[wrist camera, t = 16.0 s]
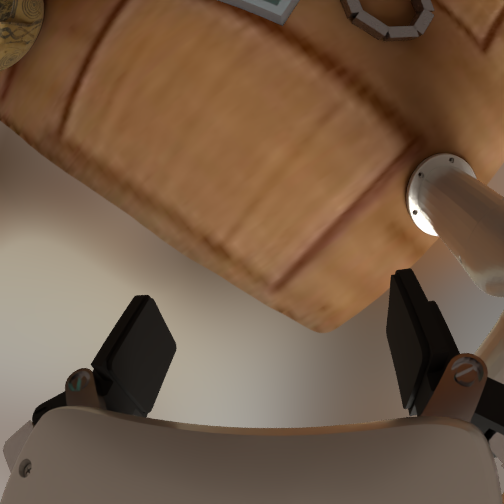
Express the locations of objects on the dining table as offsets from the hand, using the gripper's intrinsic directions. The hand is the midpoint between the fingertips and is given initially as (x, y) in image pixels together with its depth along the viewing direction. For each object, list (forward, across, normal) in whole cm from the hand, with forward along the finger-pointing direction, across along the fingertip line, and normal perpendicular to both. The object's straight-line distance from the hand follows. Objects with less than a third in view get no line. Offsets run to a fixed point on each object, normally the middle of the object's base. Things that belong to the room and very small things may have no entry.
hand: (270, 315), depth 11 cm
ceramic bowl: (+31, +38, -37) cm, 61 cm away
